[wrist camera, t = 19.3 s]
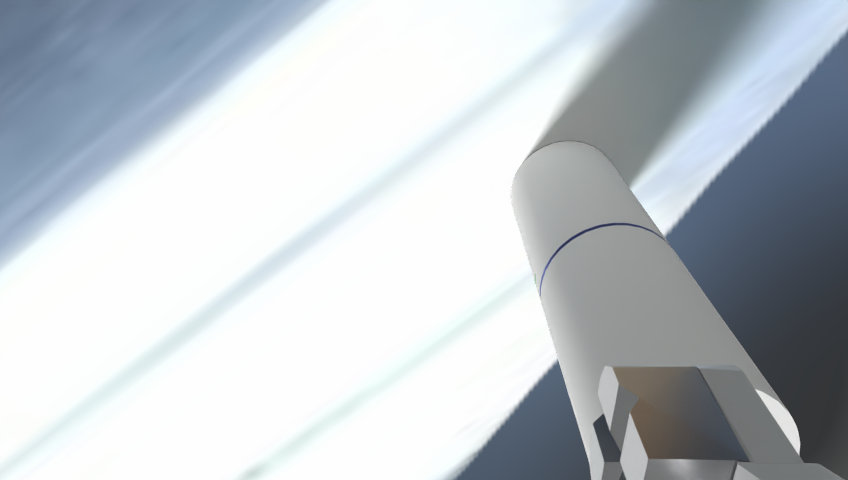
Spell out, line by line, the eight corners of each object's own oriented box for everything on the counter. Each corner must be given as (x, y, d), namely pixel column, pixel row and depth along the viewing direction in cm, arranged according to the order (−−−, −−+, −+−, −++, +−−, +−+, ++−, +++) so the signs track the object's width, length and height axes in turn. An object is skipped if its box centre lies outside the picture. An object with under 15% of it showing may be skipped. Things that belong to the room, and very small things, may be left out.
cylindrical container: (629, 147, 46) (830, 391, 24) (604, 245, 49) (761, 542, 27) (520, 135, 46) (620, 373, 23) (502, 235, 49) (575, 529, 26)
